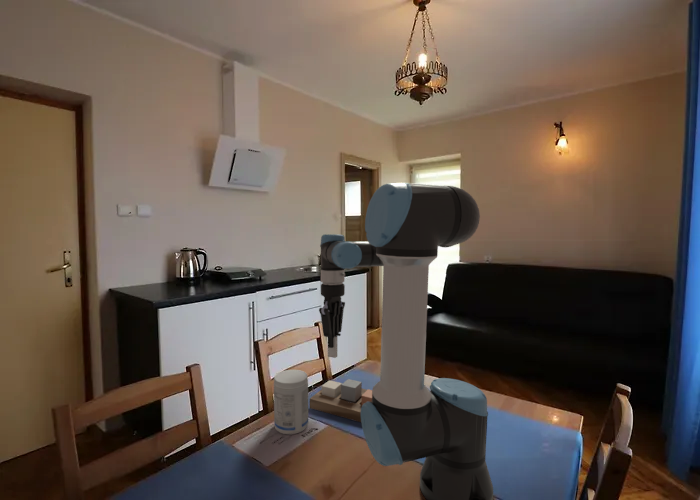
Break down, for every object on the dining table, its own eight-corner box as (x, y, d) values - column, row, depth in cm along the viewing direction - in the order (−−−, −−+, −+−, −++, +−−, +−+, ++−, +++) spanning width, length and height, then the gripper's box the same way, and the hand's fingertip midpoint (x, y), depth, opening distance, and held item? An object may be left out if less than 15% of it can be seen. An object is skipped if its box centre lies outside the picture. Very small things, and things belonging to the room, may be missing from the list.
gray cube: (354, 402, 111) (355, 388, 110) (341, 398, 113) (341, 384, 112) (361, 395, 115) (361, 382, 115) (347, 392, 117) (348, 379, 117)
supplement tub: (297, 413, 109) (297, 366, 108) (315, 427, 102) (315, 376, 101) (267, 424, 103) (267, 374, 102) (284, 440, 96) (284, 386, 95)
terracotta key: (376, 413, 108) (376, 399, 107) (361, 409, 110) (361, 395, 109) (382, 406, 112) (382, 392, 112) (367, 402, 114) (368, 389, 114)
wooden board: (375, 426, 103) (375, 415, 103) (309, 408, 113) (309, 398, 112) (391, 404, 115) (392, 395, 115) (331, 389, 125) (331, 381, 125)
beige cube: (334, 402, 114) (334, 389, 114) (321, 399, 116) (321, 385, 116) (341, 396, 118) (342, 383, 118) (329, 393, 120) (329, 380, 120)
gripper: (333, 286, 107) (332, 365, 108) (352, 281, 119) (352, 352, 120) (311, 284, 110) (311, 361, 112) (332, 279, 122) (332, 348, 123)
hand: (332, 356), depth 116 cm, fingers closed
